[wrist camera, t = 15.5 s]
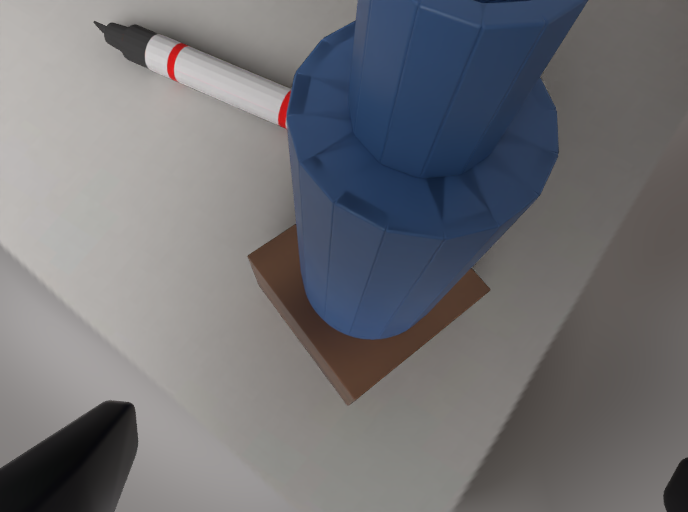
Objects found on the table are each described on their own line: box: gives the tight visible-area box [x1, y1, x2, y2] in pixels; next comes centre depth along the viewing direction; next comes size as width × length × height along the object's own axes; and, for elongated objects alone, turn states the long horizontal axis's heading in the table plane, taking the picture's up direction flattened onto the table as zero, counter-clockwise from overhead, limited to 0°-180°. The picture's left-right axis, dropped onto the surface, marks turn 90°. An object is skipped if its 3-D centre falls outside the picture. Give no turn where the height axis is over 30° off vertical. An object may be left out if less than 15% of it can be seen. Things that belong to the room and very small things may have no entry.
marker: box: [94, 21, 291, 129], centre depth 25 cm, size 15×2×2 cm, turn 65°
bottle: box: [286, 0, 588, 340], centre depth 12 cm, size 5×5×14 cm
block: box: [248, 224, 490, 405], centre depth 20 cm, size 7×7×4 cm
